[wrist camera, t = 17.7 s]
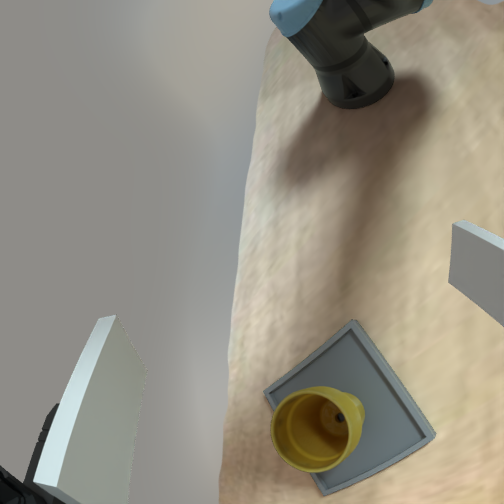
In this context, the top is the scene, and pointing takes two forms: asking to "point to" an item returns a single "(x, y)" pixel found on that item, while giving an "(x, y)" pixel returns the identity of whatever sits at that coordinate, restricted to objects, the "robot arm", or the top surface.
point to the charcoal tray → (372, 398)
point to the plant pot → (317, 428)
